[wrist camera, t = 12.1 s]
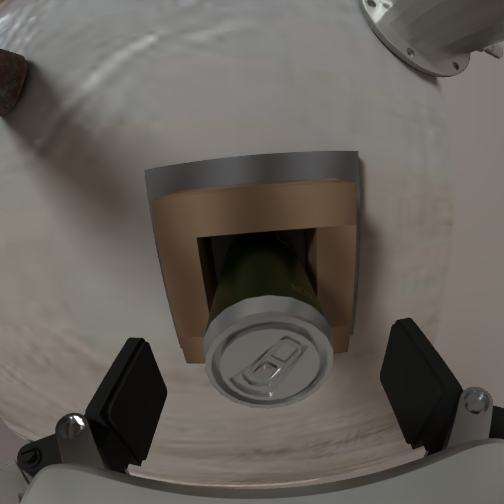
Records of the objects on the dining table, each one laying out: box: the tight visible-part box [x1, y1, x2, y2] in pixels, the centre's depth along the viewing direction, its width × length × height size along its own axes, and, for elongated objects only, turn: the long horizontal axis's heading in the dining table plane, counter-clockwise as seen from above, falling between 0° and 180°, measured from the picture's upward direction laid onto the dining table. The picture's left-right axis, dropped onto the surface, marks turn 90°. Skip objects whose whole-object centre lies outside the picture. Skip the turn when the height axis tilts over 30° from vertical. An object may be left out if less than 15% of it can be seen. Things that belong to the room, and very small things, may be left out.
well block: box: [145, 151, 360, 363], centre depth 19 cm, size 16×16×6 cm
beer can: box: [203, 231, 333, 408], centre depth 15 cm, size 5×5×12 cm
